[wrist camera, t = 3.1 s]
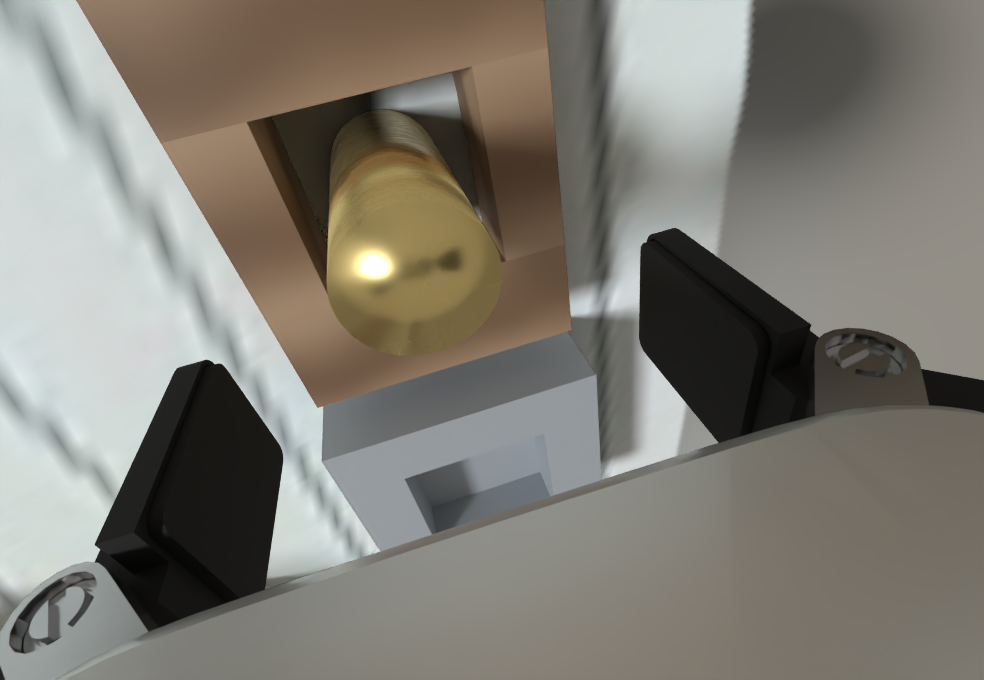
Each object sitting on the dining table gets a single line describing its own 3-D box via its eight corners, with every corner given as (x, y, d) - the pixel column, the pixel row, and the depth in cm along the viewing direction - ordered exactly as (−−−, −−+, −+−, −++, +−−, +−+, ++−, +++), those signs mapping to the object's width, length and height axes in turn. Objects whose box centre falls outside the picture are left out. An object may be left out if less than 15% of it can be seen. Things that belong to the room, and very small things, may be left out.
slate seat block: (324, 388, 26) (321, 461, 22) (559, 317, 27) (596, 374, 23) (397, 520, 34) (405, 589, 30) (573, 461, 35) (603, 520, 31)
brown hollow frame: (108, -46, 14) (44, -54, 11) (492, -126, 15) (531, -153, 12) (319, 353, 24) (317, 407, 21) (543, 287, 25) (571, 329, 22)
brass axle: (312, 125, 18) (295, 231, 11) (424, 97, 19) (486, 179, 11) (353, 229, 21) (362, 374, 13) (449, 203, 21) (513, 329, 14)
